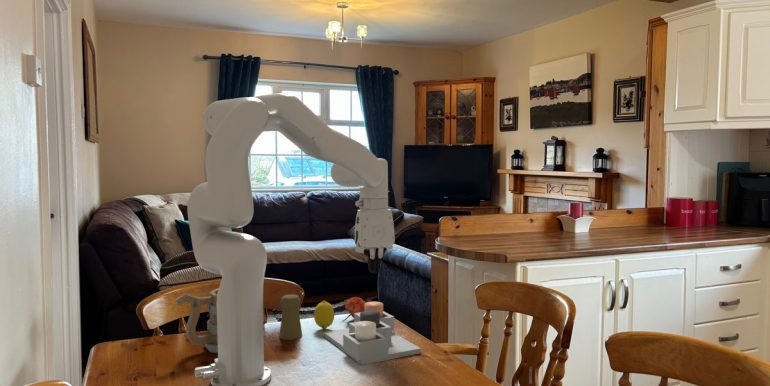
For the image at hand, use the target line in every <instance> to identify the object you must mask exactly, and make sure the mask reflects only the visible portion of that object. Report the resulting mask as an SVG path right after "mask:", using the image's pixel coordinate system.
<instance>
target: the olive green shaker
mask: <svg viewBox="0 0 770 386" xmlns="http://www.w3.org/2000/svg"><path fill="white" fill-rule="evenodd" d="M300 305H301V299H300V297H299V295H297V294H285V295H283V296H282V297H280V307H281V308H282V310H281V311H282V312H281V318H280V319H281V320H280V328H279V335H278V337H279V338H280V340H285V341H286V340H297V339H301V338H302V337H303V331H302V324H301V318H300V310H299V307H300Z"/></svg>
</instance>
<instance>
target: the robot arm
mask: <svg viewBox="0 0 770 386" xmlns="http://www.w3.org/2000/svg"><path fill="white" fill-rule="evenodd" d="M202 115H203V116H202V123H203V128H204V130H206V132H207V133H208V134H209V135H210V136H211V137H210V139H209V141H208V144H207V147H206V151H205V169H206V181H204V182H202V183H200V184H198V185H197V186H195V187H194V189H193V190H192V191H191V193H190V195H189V197H188V201H187V219H188V225H189V231H190V238H191V244H192V251H193V254H194V258H195V261H196V262H197V264H198V265H199V266H200V268H202V270H204V271H206V272H208V273H209V272H210V273H212V274H216V275H221V280H220V284H219V287H218V288H219V290H218V294H217V337H218V353H217V358H214V362H213V363H210V364H209V365H206V366H197V367H195V368H194V376H195V378H198V377H203V379H204V380H207V379H210V384H211V386H264V385H265V384H267V383H268V382H270V380H271V378H272V370H271V369H270V368H269V367H267V366H265V359H264V358H265V357H264V356H265V355H264V354H265V352H264V351H265V350H264V349H265V348H264V347H265V345H264V343H265V342H264V281H265V275H266V274H265V273H266V268H267V263H268V262H267V261H268V255H267V254H268V253H267V250H266V248H265V246H264V244H263V242H262V241H261V240H260V239H258V238H257V237H255V236H253V235H251V234H247V233H242V232H237V231H231V230H232V229H239V228H243V227H245V226H247V225H248V224H250V223H251V221H252V219H253V217H254V212H255V211H254V199H253V198H254V197H253V192H252V191H253V190H252V184H251V183H252V182H251V177H250V170H249V169H250V167H249V166H250V164H249V157H250V152H251V149H252V147H253V145H254V144H255V142H256V140H257V139H258V138H259V137H260V136H261V135H262V134H263V133H264V132H279V133H280V134H281V135H282V136H284V137H285V138H286V139H288V140H289V142H291V143H292V144H293V145H294V146H296V147H297V148H298V149H299V150H301V151H302V152H303V153H304V154H305V155H307V156H308V157H311V158H314V159H316V160H319V161H322V162H326V163H331V164H332V166H331V167H330V176H331V179H332V180H333V182H334V183H335V184H336V185H338V186H341V187H344V188H359V198H358V200H356V201H355V206H356V207H359V209H357V213H356V217H355V227H354V244H355V249H354V251H355V252H357V253H360V254H364V256H365V257H366V258H367V270H368V271H369V273H371V274H373V275H375V274H380V272H381V265H382V264H381V261H382V260H381V259H382V258H383V256H384V254H385V253H386V252H387V251H390V250H393V248H394V246H393V245H394V244H395V224H394V219H393V218H394V217H393V212H392V209H391V208H389V193H388V192H389V173H388V172H389V171H388V169H389V167H388V165H389V164H388V161H387V160H386V159H385V158H382V157H381V158H380V157H379V158H378V157H377V156H376V155H375V154H374V153H373V152H372V151H371V150H369V148H367V146H365V145H364V144H362V143H360V142H358V141H357V140H356V139H353V138H351V137H349V136H348V135H345V134H343V133H342V132H340V131H338V130H336V129H333V128H331V127H330V126H329V125H328V124H326V122H324V121H323V120H322V119H321V118H320V117H319V116H318V115H316V113H314V112H313V111H312V110H311V109H310V108H309V107H308V106H307V105H306V104H305V103H304V102H303V101H301V99H299V98H298V97H297V96H295V95H293V94H291V93H288V92H279V93H272V94H271V93H269V94H262V95H256V96H249V97H238V98H229V99H222V100H217V101H213V102H212V103H210V104H209V105H208V106H206V108H205V109H204V112H203V114H202Z"/></svg>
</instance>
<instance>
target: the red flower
mask: <svg viewBox="0 0 770 386" xmlns="http://www.w3.org/2000/svg"><path fill="white" fill-rule="evenodd" d="M369 300H370V298H368V297H367V298H364V299H362V298H361V297H357V296H353V297H350V298H349V299H348V300H347V301H346V303H345V304H344V308H345V310H346V311H348V312H349V314H348V316H346V317H345V318H344V319H343V320H341V322H342V323H344V322H345V321H346V320H347V319H348V318H350V316H351V318H353V319H354V313H360V312H364V311H365V303H367V302H368V301H369Z"/></svg>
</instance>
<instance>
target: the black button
mask: <svg viewBox="0 0 770 386" xmlns="http://www.w3.org/2000/svg"><path fill="white" fill-rule="evenodd" d="M361 321H371V322H374V323H376V328H380V313H379V312H377V311H364V312H361V313H360V322H361Z"/></svg>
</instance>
